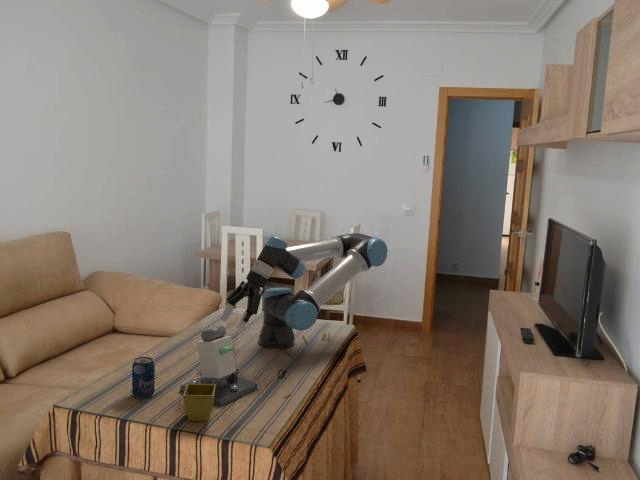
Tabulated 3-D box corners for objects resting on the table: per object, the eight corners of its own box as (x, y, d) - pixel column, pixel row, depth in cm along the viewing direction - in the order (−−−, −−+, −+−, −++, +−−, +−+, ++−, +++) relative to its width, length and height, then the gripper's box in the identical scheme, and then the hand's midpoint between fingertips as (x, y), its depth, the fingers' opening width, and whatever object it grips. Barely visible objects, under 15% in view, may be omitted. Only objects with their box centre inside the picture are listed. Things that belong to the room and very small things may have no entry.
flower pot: (186, 410, 184) (187, 383, 183) (215, 411, 185) (216, 383, 183) (182, 424, 175) (182, 395, 174) (212, 424, 176) (213, 395, 175)
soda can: (142, 401, 189) (142, 365, 187) (127, 396, 192) (127, 360, 190) (159, 394, 194) (159, 359, 192) (144, 389, 198) (144, 354, 196)
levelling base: (180, 391, 198) (180, 375, 197) (218, 375, 213) (218, 360, 212) (220, 406, 188) (220, 390, 187) (257, 389, 203) (258, 373, 202)
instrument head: (200, 384, 198) (193, 331, 197) (221, 376, 206) (215, 324, 205) (221, 386, 192) (214, 331, 192) (242, 377, 201) (235, 325, 200)
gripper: (236, 264, 232) (208, 312, 228) (268, 275, 212) (238, 328, 208) (251, 273, 236) (223, 320, 232) (283, 285, 216) (254, 337, 212)
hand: (230, 324), depth 220 cm, fingers open, 13 cm apart
